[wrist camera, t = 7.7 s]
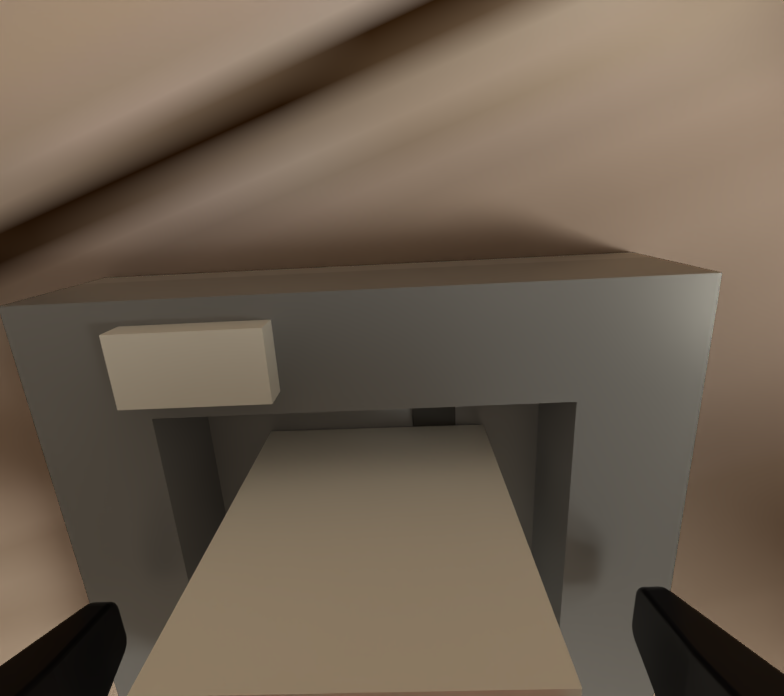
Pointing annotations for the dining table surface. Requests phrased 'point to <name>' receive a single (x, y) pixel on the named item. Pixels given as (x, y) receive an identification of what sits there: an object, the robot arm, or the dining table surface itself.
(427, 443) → the plug
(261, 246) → the dining table surface
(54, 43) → the dining table surface
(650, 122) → the dining table surface
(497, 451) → the socket plate
